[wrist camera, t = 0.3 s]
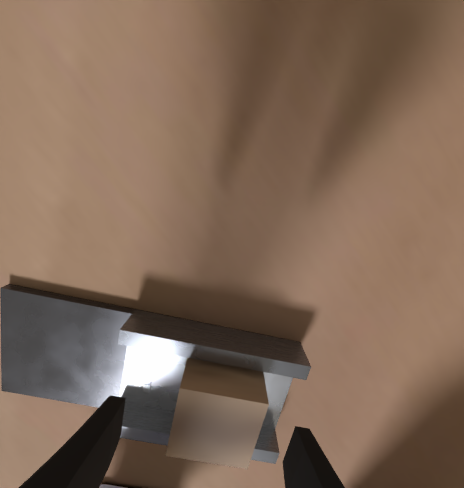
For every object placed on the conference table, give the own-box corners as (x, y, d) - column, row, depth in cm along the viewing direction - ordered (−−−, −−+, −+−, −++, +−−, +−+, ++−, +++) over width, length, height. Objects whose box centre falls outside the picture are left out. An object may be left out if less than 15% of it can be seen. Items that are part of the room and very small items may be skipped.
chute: (270, 429, 22) (275, 463, 20) (9, 384, 21) (-24, 413, 18) (300, 342, 20) (311, 366, 17) (8, 284, 19) (-29, 301, 16)
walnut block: (244, 417, 21) (247, 469, 17) (177, 405, 21) (165, 455, 17) (261, 360, 20) (268, 404, 16) (190, 347, 19) (179, 388, 15)
